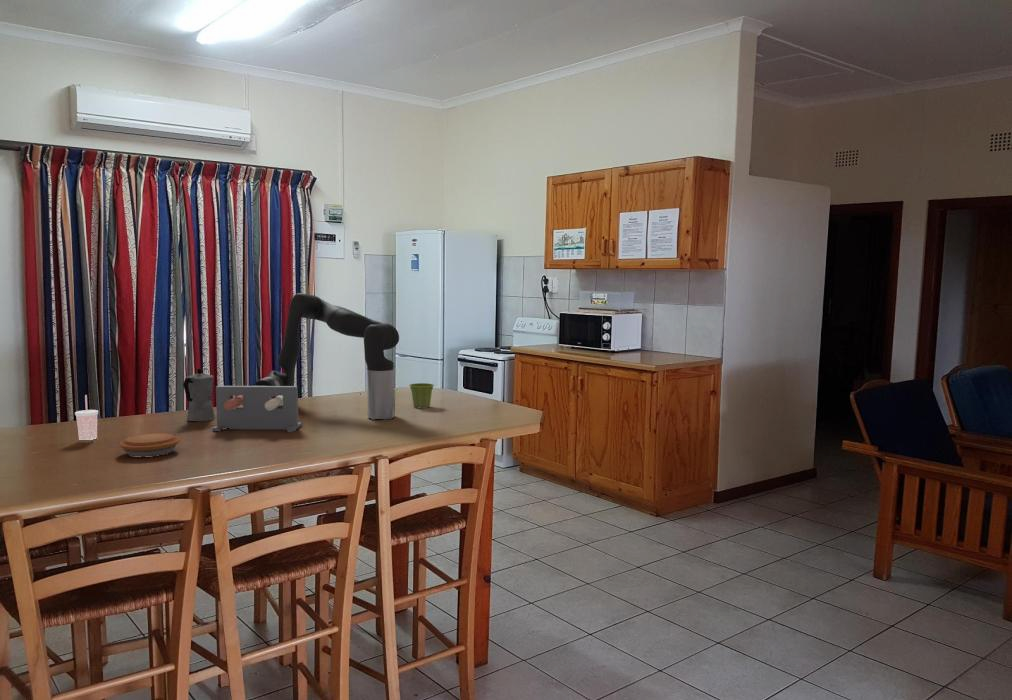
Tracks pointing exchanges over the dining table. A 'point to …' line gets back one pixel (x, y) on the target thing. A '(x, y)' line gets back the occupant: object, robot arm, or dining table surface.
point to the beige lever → (274, 403)
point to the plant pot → (421, 394)
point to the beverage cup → (87, 423)
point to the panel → (257, 408)
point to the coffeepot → (199, 396)
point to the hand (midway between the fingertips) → (250, 395)
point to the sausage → (233, 402)
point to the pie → (149, 444)
